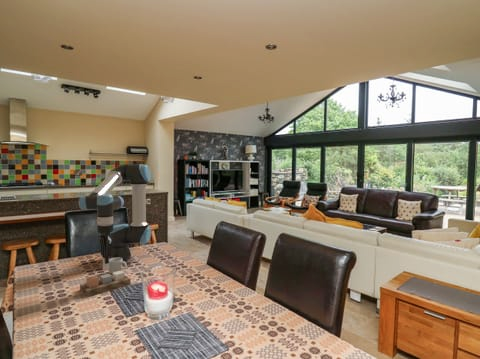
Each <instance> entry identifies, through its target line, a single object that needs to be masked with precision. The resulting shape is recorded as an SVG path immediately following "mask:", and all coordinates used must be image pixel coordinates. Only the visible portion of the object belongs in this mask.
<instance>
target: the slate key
mask: <svg viewBox="0 0 480 359" xmlns="http://www.w3.org/2000/svg"><path fill="white" fill-rule="evenodd" d="M99 279H100V283H101V284H102V285H103V284H107V283H110V282H112V274H111V273H106V274H102V275H99Z"/></svg>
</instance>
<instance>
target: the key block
mask: <svg viewBox="0 0 480 359" xmlns="http://www.w3.org/2000/svg"><path fill="white" fill-rule="evenodd" d="M131 280H132V279H131V278H130V277H128V276H127V275H125V274H124V279H121V280H117V281H115V280H113V279H112V282H110V283H107V284H103V285H102V284H101V283H100V278H99V286H96V287H92V288H88V287H87V286H86V282H85V283H80V284H79V291H80V292H82V294H83V295H85V297H87V298H89V297H93V296H96V295H100V294H103V293H106V292H110V291H113V290H116V289H120V288H123V287H126V286H130V285H131Z"/></svg>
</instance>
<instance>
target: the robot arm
mask: <svg viewBox="0 0 480 359" xmlns="http://www.w3.org/2000/svg"><path fill="white" fill-rule="evenodd" d="M151 178H152V172H151V169H150V167H149V166H148V165H147V164H143V163H139V164H138V163H137V164H134V163H131V164H127V163H123V164H121V165H118V166H116V167H114V168H113V169H111V170H110V171H109V172H108V173H107V176H106V177H105V178H104V180H102V182H100V183H99V185H97V186H96V188H95V189H94V190H92V191H91V193H89V194H88V195H82V196H80V197H79V199H78V207H79V208H80V209H81V210H86V211H89V210H90V211H92V210H93V211H97V218H96V221H97V227H96V228H97V231H96V232H97V233H98V234H100V235H98V240H99V241H98V242H99V249H100V250H99V251H100V252H99V253H100V255H101V257H102V270H103V271H105V270H109V259H111V258H116V257H119V258H122V259H123V260H122V261H124V262H126V261H128V260H130V259H131V258H132V252H131V250H130V247H129V246H130V245H131V244H132V245H135V244H136V245H145V244H147V243H149V241H150V239H151V236H152V226H149V223H148V222H147V198H146V197H147V196H146V195H147V193H146V191H147V190H146V189H147V186H148V185H149V182H150V181H151V180H152V179H151ZM122 182H123V183H124V182H129V185H130V186H131V187H132V190H131V193H132V194H131V195H132V197H131V198H132V200H131V201H132V203H131V204H132V222H131V223H130V224H128V223H121V224H116V225H114V211H116V210H120V209H121V208H123V206H124V204H125V201H124V198H123V197H122V196H120V195H113V194H110V193H111V192H112V190H114V188H115V187H116V186H117V185H119V184H121V183H122ZM129 225H130V226H129Z"/></svg>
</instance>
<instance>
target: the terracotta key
mask: <svg viewBox="0 0 480 359" xmlns="http://www.w3.org/2000/svg"><path fill="white" fill-rule="evenodd" d="M99 279H100V276H97V275H96V274H94V275H90V276H87V277H86V282H85V283H86V286H87V287H88V288H92V287H96V286H99Z"/></svg>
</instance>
